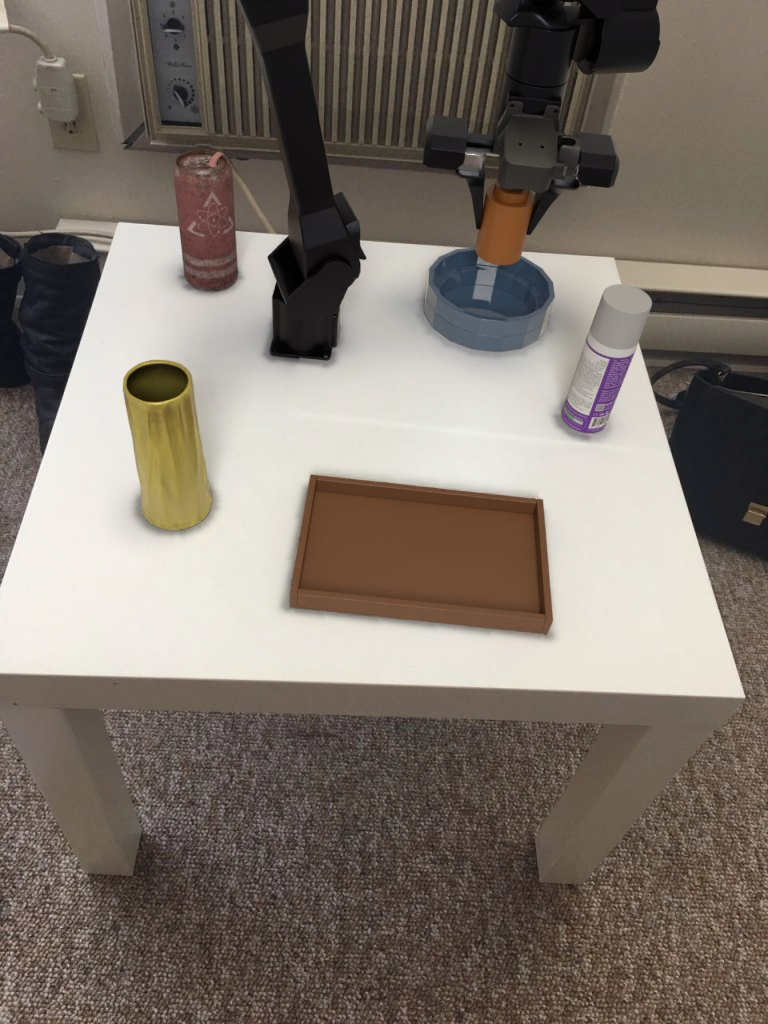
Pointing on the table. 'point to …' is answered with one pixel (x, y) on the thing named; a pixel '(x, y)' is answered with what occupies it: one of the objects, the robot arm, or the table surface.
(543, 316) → the bowl
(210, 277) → the can
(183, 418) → the vase
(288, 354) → the robot arm
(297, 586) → the tray
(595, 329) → the container
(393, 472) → the table surface
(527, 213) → the bottle
